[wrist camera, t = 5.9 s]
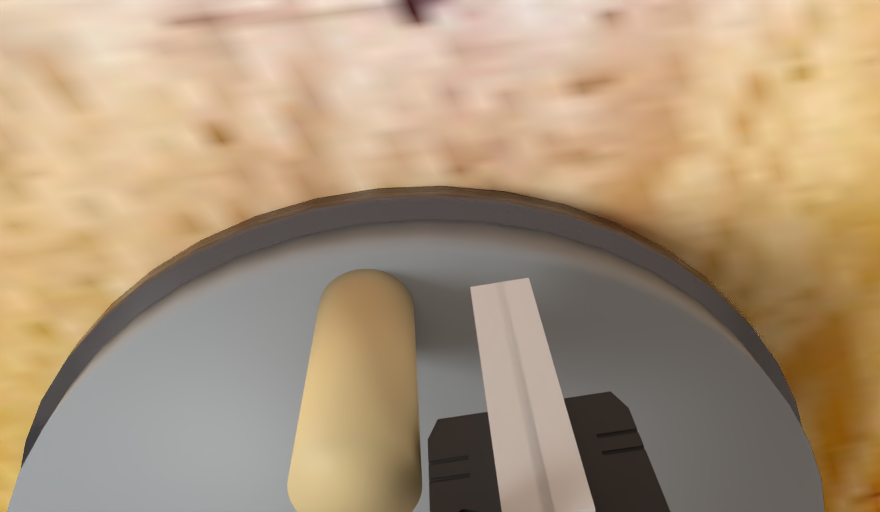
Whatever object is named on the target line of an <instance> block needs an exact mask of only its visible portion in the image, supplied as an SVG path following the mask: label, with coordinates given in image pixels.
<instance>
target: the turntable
mask: <svg viewBox="0 0 880 512" xmlns="http://www.w3.org/2000/svg"><path fill="white" fill-rule="evenodd" d="M523 278H529V280H530V284H531V287H532V291H533V294H534V298H535V301H536V305H537V308H538V312H539V315H540V319H541V322H542V325H543V329H544V332H545V336H546V339H547V343H548V346H549V350H550V353H551V357H552V360H553V364H554V367H555V371H556V374H557V378H558V381H559V385H560V388H561V392H562V395H563V398H570V397H576V396H583V395H589V394H596V393H603V392H609V391H611V392H612V393H613V394H614V395H615V396H616V397H617V398H618V399H620V400H621V401H622V402H623V403H624V404H625V405H626V406H627V407H628V408H629V410H630V412H631V415H632V417H633V420H634V422H635V425H636V427H637V431H638V432H639V435H640V437H641V440H642V442H643V445H644V449H645V450H646V452H647V455H648V457H649V460H650V462H651V465H652V467H653V469H654V472H655V474H656V477H657V479H658V482H659V484H660V487H661V489H662V492H663V494H664V497H665V499H666V502H667V504H668V507H669V509H670V512H825V507H824V498H823V488H822V480H821V476H820V473H819V470H818V467H817V464H816V460H815V457H814V454H813V451H812V448H811V445H810V442H809V440H808V438H807V436H806V434H805V432H804V431H803V429H802V427H801V425H800V423H799V421H798V420H797V418H796V416H795V414H794V412H793V410H792V409H791V407H790V405H789V404H788V402H787V401H786V400H785V398H784V397H783V396H782V394H781V393H780V392H779V390H778V389H777V388H776V386H775V385H774V384H773V382H772V381H771V380H770V378H769V377H768V376H767V375H766V373H765V372H764V371H763V369H762V368H761V367H760V365H759V364H758V363H757V361H756V360H755V359H754V358H753V356H752V355H751V354H750V353H749V352H748V350H747V349H746V348H745V347H744V345H743V344H742V343H741V342H740V340H739V339H738V338H737V337H736V336H735V334H734V333H733V332H732V331H731V329H729V328H728V327H727V326H726V325H725V324H724V323H723V322H722V321H720V320H719V319H718V318H717V317H716V316H715V315H714V314H712V313H711V312H710V311H709V310H708V309H707V308H706V307H704V306H703V305H702V304H701V303H700V302H699V301H698V300H697V299H695V298H694V297H692V296H691V295H689V294H688V293H686V292H685V291H683V290H681V289H680V288H678V287H677V286H675V285H674V284H672V283H670V282H669V281H667V280H666V279H664V278H663V277H661V276H659V275H658V274H656V273H655V272H653V271H651V270H649V269H647V268H645V267H643V266H640V265H638V264H636V263H634V262H631V261H629V260H627V259H625V258H623V257H620V256H618V255H616V254H614V253H611V252H609V251H607V250H605V249H603V248H600V247H596V246H593V245H590V244H586V243H583V242H579V241H576V240H573V239H569V238H566V237H563V236H559V235H556V234H553V233H549V232H546V231H540V230H534V229H528V228H522V227H516V226H509V225H503V224H497V223H491V222H484V221H460V220H436V219H416V220H403V221H390V222H377V223H364V224H356V225H351V226H346V227H341V228H336V229H331V230H326V231H321V232H316V233H311V234H306V235H301V236H297V237H294V238H291V239H288V240H285V241H282V242H279V243H276V244H273V245H270V246H267V247H264V248H261V249H258V250H255V251H252V252H249V253H246V254H242V255H239V256H237V257H235V258H233V259H231V260H229V261H227V262H225V263H223V264H221V265H219V266H217V267H215V268H212V269H210V270H208V271H206V272H204V273H202V274H200V275H198V276H196V277H194V278H192V279H190V280H187V281H186V282H184V283H183V284H181V285H180V286H178V287H177V288H175V289H174V290H172V291H171V292H169V293H168V294H166V295H165V296H163V297H162V298H160V299H159V300H157V301H156V302H154V303H153V304H151V305H149V306H148V307H146V308H145V309H143V310H142V311H140V312H139V313H138V314H137V315H136V316H135V317H134V318H133V319H132V320H130V321H129V322H128V323H127V324H126V325H125V326H124V327H123V328H122V329H120V330H119V331H118V332H117V333H116V334H115V335H114V336H113V337H112V338H110V339H109V340H108V341H107V342H106V343H105V344H104V345H103V346H102V347H101V348H100V349H99V350H98V352H97V353H96V354H95V355H94V357H93V358H92V359H91V360H90V362H89V363H88V364H87V365H86V367H85V368H84V369H83V370H82V372H81V373H80V374H79V375H78V377H77V378H76V379H75V380H74V382H73V383H72V384H71V386H70V387H69V389H68V390H67V392H66V394H65V395H64V397H63V398H62V400H61V401H60V403H59V404H58V406H57V408H56V409H55V411H54V412H53V414H52V415H51V417H50V418H49V420H48V422H47V423H46V425H45V426H44V428H43V429H42V431H41V433H40V435H39V437H38V439H37V440H36V442H35V444H34V446H33V448H32V449H31V451H30V453H29V455H28V457H27V459H26V460H25V462H24V464H23V466H22V468H21V470H20V472H19V476H18V479H17V482H16V485H15V488H14V491H13V494H12V498H11V501H10V504H9V507H8V510H7V512H430V502H429V469H428V465H429V462H428V438H429V436H430V434H431V432H432V430H433V428H434V426H435V424H436V422H437V419H442V418H449V417H455V416H462V415H469V414H475V413H482V412H488V410H487V403H486V396H485V389H484V382H483V375H482V367H481V360H480V353H479V346H478V339H477V332H476V325H475V318H474V311H473V303H472V296H471V289H470V287H473V286H479V285H486V284H492V283H498V282H504V281H510V280H517V279H523Z"/></svg>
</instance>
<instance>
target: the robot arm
mask: <svg viewBox="0 0 880 512" xmlns="http://www.w3.org/2000/svg"><path fill="white" fill-rule="evenodd" d="M470 289H471V296H472V303H473V311H474V318H475V325H476V332H477V339H478V346H479V353H480V360H481V367H482V375H483V382H484V389H485V396H486V403H487V410H488V412H482V413H475V414H469V415H462V416H455V417H449V418H442V419H437V422H436V424H435V426H434V428H433V430H432V432H431V434H430V436H429V438H428V462H429V465H428V469H429V502H430V512H670V509H669V507H668V504H667V502H666V499H665V497H664V494H663V492H662V489H661V487H660V484H659V482H658V479H657V477H656V474H655V472H654V469H653V467H652V465H651V462H650V460H649V457H648V455H647V452H646V450H645V449H644V445H643V442H642V440H641V437H640V435H639V432H638V431H637V427H636V425H635V422H634V420H633V417H632V415H631V412H630V410H629V408H628V407H627V406H626V405H625V404H624V403H623V402H622V401H621V400H620V399H618V398H617V397H616V396H615V395H614V394H613V393H612V392H611V391H609V392H603V393H596V394H589V395H583V396H576V397H570V398H563V395H562V392H561V388H560V385H559V381H558V378H557V374H556V371H555V367H554V364H553V360H552V357H551V353H550V350H549V346H548V343H547V339H546V336H545V332H544V329H543V325H542V322H541V319H540V315H539V312H538V308H537V305H536V301H535V298H534V294H533V291H532V287H531V284H530V280H529V278H523V279H517V280H510V281H504V282H498V283H492V284H486V285H479V286H473V287H470Z"/></svg>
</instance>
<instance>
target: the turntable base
mask: <svg viewBox="0 0 880 512" xmlns="http://www.w3.org/2000/svg"><path fill="white" fill-rule="evenodd" d="M416 219H436V220H460V221H484V222H491V223H497V224H503V225H509V226H516V227H522V228H528V229H534V230H540V231H546V232H549V233H553V234H556V235H559V236H563V237H566V238H569V239H573V240H576V241H579V242H583V243H586V244H590V245H593V246H596V247H600V248H603V249H605V250H607V251H609V252H611V253H614V254H616V255H618V256H620V257H623V258H625V259H627V260H629V261H631V262H634V263H636V264H638V265H640V266H643V267H645V268H647V269H649V270H651V271H653V272H655V273H656V274H658V275H659V276H661V277H663V278H664V279H666V280H667V281H669V282H670V283H672V284H674V285H675V286H677V287H678V288H680V289H681V290H683V291H685V292H686V293H688V294H689V295H691V296H692V297H694V298H695V299H697V300H698V301H699V302H700V303H701V304H702V305H703V306H704V307H706V308H707V309H708V310H709V311H710V312H711V313H712V314H714V315H715V316H716V317H717V318H718V319H719V320H720V321H722V322H723V323H724V324H725V325H726V326H727V327H728V328H729V329H731V331H732V332H733V333H734V334H735V336H736V337H737V338H738V339H739V340H740V342H741V343H742V344H743V345H744V347H745V348H746V349H747V350H748V352H749V353H750V354H751V355H752V356H753V358H754V359H755V360H756V361H757V363H758V364H759V365H760V367H761V368H762V369H763V371H764V372H765V373H766V375H767V376H768V377H769V378H770V380H771V381H772V382H773V384H774V385H775V386H776V388H777V389H778V390H779V392H780V393H781V394H782V396H783V397H784V398H785V400H786V401H787V402H788V404H789V405H790V407H791V409H792V410H793V412H794V414H795V416H796V418H797V420H798V421H799V423H800V425H801V421H800V417H799V413H798V409H797V405H796V401H795V399H794V397H793V395H792V393H791V391H790V389H789V386H788V384H787V382H786V380H785V378H784V376H783V373H782V371H781V369H780V367H779V365H778V363H777V362H776V360H775V359H774V358H773V356H772V355H771V353H770V352H769V351H768V349H767V348H766V346H765V345H764V343H763V342H762V341H761V339H760V338H759V336H758V335H757V334H756V332H755V331H754V329H753V328H752V327H751V325H750V324H749V323H748V322H747V320H746V319H745V318H744V317H743V315H742V314H741V313H740V312H739V311H738V310H737V309H736V308H735V307H734V306H733V305H732V304H731V303H730V302H729V301H728V300H727V299H726V298H725V297H724V296H723V295H722V294H721V293H720V292H719V291H718V290H717V289H716V288H715V287H714V286H713V285H712V284H711V283H710V282H709V281H708V280H707V279H706V278H705V277H704V276H703V275H701V274H700V273H698V272H697V271H696V270H694V269H693V268H692V267H690V266H689V265H687V264H686V263H685V262H683V261H682V260H680V259H679V258H678V257H676V256H675V255H674V254H672V253H671V252H669V251H668V250H667V249H665V248H664V247H662V246H660V245H658V244H656V243H654V242H652V241H650V240H648V239H646V238H644V237H642V236H640V235H638V234H637V233H635V232H633V231H631V230H629V229H627V228H625V227H623V226H621V225H619V224H617V223H615V222H612V221H609V220H606V219H603V218H600V217H598V216H595V215H592V214H589V213H586V212H584V211H581V210H578V209H575V208H572V207H569V206H567V205H564V204H560V203H555V202H550V201H546V200H541V199H536V198H532V197H527V196H522V195H518V194H513V193H508V192H503V191H491V190H480V189H468V188H456V187H444V186H435V187H409V188H383V189H373V190H367V191H360V192H354V193H348V194H342V195H336V196H330V197H323V198H317V199H313V200H310V201H306V202H303V203H299V204H296V205H292V206H289V207H286V208H282V209H279V210H275V211H272V212H268V213H265V214H262V215H258V216H255V217H253V218H251V219H248V220H246V221H244V222H241V223H239V224H237V225H235V226H232V227H230V228H228V229H225V230H223V231H221V232H219V233H216V234H214V235H212V236H210V237H207V238H205V239H203V240H201V241H199V242H197V243H196V244H194V245H192V246H191V247H189V248H188V249H186V250H184V251H183V252H181V253H179V254H178V255H176V256H174V257H173V258H171V259H170V260H168V261H166V262H165V263H163V264H161V265H160V266H158V267H156V268H155V269H153V270H152V271H151V272H149V273H148V274H147V275H146V276H145V277H143V278H142V279H141V280H140V281H139V282H137V283H136V284H135V285H134V286H133V287H131V288H130V289H129V290H128V291H127V292H125V293H124V294H123V295H122V296H121V297H119V298H118V299H117V300H116V301H115V302H113V303H112V304H111V305H110V307H109V308H108V309H107V310H106V311H105V312H104V313H103V315H102V316H101V317H100V318H99V319H98V320H97V321H96V323H95V324H94V325H93V326H92V327H91V328H90V329H89V331H88V332H87V333H86V334H85V335H84V336H83V337H82V339H81V340H80V341H79V342H78V344H77V345H76V347H75V348H74V350H73V351H72V352H71V354H70V355H69V357H68V358H67V360H66V361H65V363H64V365H63V366H62V368H61V369H60V371H59V373H58V374H57V376H56V378H55V379H54V381H53V383H52V384H51V386H50V387H49V389H48V391H47V392H46V394H45V396H44V397H43V399H42V401H41V403H40V406H39V408H38V411H37V413H36V416H35V419H34V421H33V424H32V426H31V429H30V432H29V434H28V437H27V439H26V442H25V448H24V454H23V459H22V465H21V468H22V466H23V464H24V462H25V460H26V459H27V457H28V455H29V453H30V451H31V449H32V448H33V446H34V444H35V442H36V440H37V439H38V437H39V435H40V433H41V431H42V429H43V428H44V426H45V425H46V423H47V422H48V420H49V418H50V417H51V415H52V414H53V412H54V411H55V409H56V408H57V406H58V404H59V403H60V401H61V400H62V398H63V397H64V395H65V394H66V392H67V390H68V389H69V387H70V386H71V384H72V383H73V382H74V380H75V379H76V378H77V377H78V375H79V374H80V373H81V372H82V370H83V369H84V368H85V367H86V365H87V364H88V363H89V362H90V360H91V359H92V358H93V357H94V355H95V354H96V353H97V352H98V350H99V349H100V348H101V347H102V346H103V345H104V344H105V343H106V342H107V341H108V340H109V339H110V338H112V337H113V336H114V335H115V334H116V333H117V332H118V331H119V330H120V329H122V328H123V327H124V326H125V325H126V324H127V323H128V322H129V321H130V320H132V319H133V318H134V317H135V316H136V315H137V314H138V313H139V312H140V311H142V310H143V309H145V308H146V307H148V306H149V305H151V304H153V303H154V302H156V301H157V300H159V299H160V298H162V297H163V296H165V295H166V294H168V293H169V292H171V291H172V290H174V289H175V288H177V287H178V286H180V285H181V284H183V283H184V282H186V281H187V280H190V279H192V278H194V277H196V276H198V275H200V274H202V273H204V272H206V271H208V270H210V269H212V268H215V267H217V266H219V265H221V264H223V263H225V262H227V261H229V260H231V259H233V258H235V257H237V256H239V255H242V254H246V253H249V252H252V251H255V250H258V249H261V248H264V247H267V246H270V245H273V244H276V243H279V242H282V241H285V240H288V239H291V238H294V237H297V236H301V235H306V234H311V233H316V232H321V231H326V230H331V229H336V228H341V227H346V226H351V225H356V224H364V223H377V222H390V221H403V220H416ZM801 427H802V425H801Z"/></svg>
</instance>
